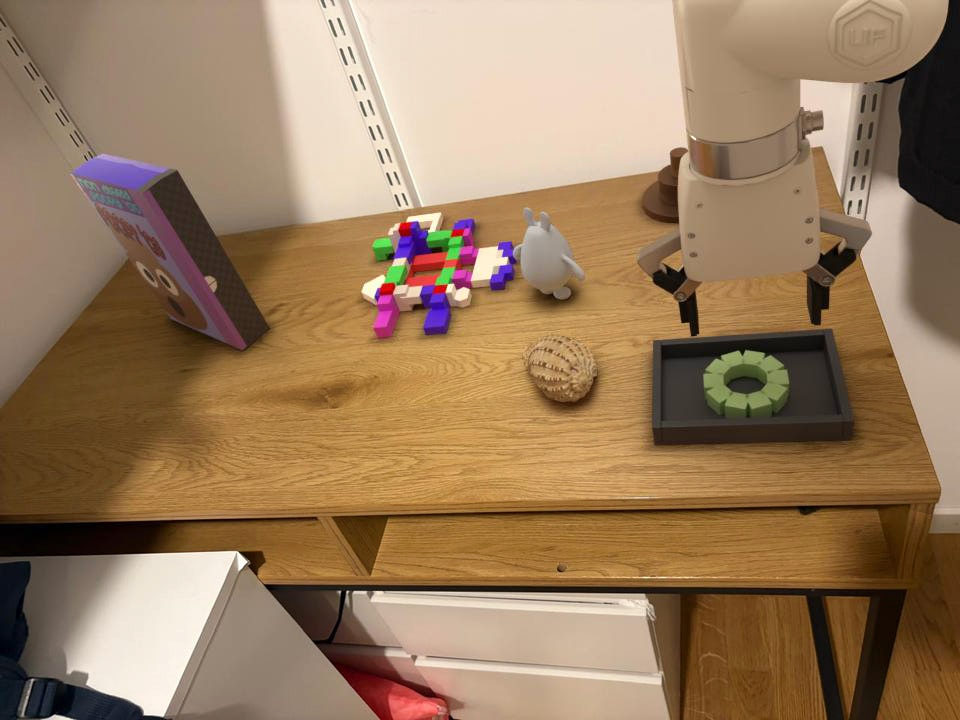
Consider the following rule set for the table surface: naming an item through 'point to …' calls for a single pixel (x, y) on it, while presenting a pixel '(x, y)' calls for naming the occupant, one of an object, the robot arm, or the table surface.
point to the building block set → (434, 289)
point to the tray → (750, 390)
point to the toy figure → (546, 257)
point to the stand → (665, 191)
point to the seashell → (560, 367)
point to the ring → (747, 366)
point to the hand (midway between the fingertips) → (752, 320)
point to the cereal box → (172, 247)
